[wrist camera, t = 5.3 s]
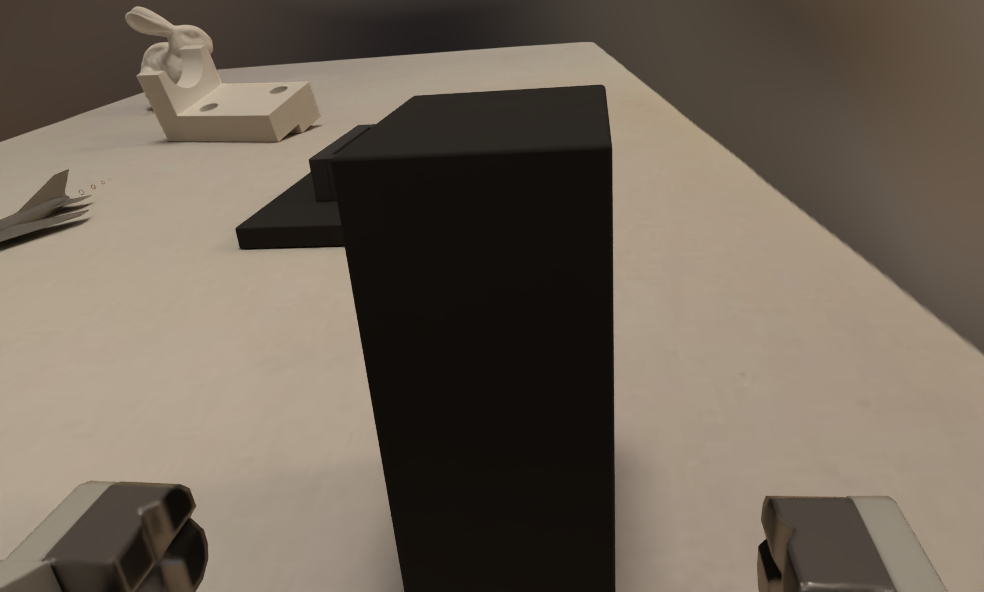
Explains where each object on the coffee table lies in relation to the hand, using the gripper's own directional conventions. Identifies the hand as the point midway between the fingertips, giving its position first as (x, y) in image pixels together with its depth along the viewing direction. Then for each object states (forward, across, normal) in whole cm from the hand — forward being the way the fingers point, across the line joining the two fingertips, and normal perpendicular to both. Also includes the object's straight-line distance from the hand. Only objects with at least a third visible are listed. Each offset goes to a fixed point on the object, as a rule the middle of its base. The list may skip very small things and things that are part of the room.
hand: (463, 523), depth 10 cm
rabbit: (+78, +49, +6) cm, 92 cm away
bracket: (+58, +32, +6) cm, 67 cm away
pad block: (+6, 0, +6) cm, 8 cm away
